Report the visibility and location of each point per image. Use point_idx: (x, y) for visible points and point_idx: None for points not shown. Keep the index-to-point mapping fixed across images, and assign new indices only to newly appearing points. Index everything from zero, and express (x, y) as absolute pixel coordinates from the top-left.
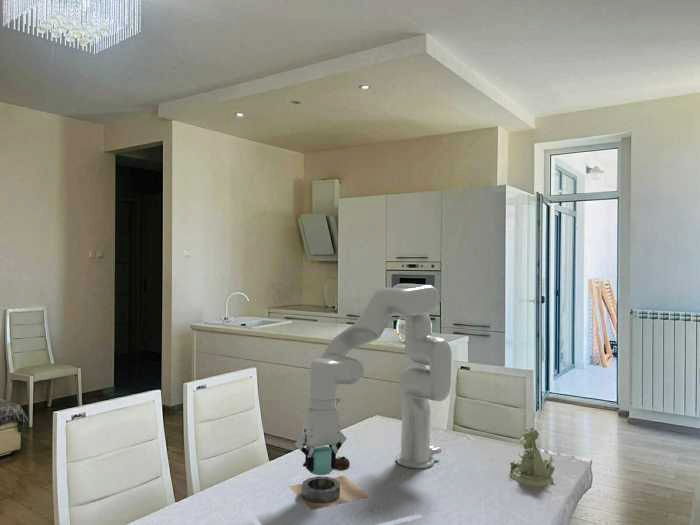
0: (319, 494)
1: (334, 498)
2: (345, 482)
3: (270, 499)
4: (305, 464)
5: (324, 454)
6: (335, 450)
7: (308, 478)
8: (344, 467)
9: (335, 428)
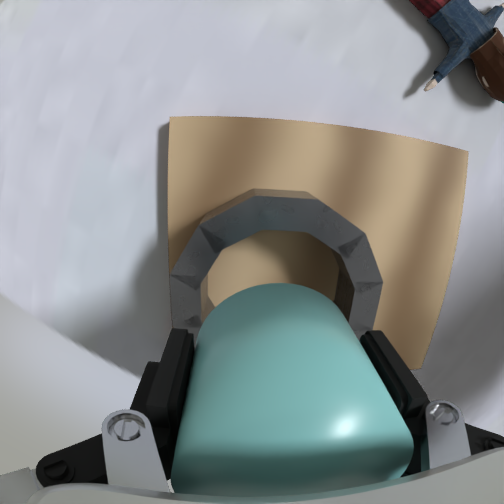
0: None
1: None
2: (438, 219)
3: (69, 180)
4: (146, 372)
5: None
6: (412, 474)
7: (248, 199)
8: (498, 98)
9: None
